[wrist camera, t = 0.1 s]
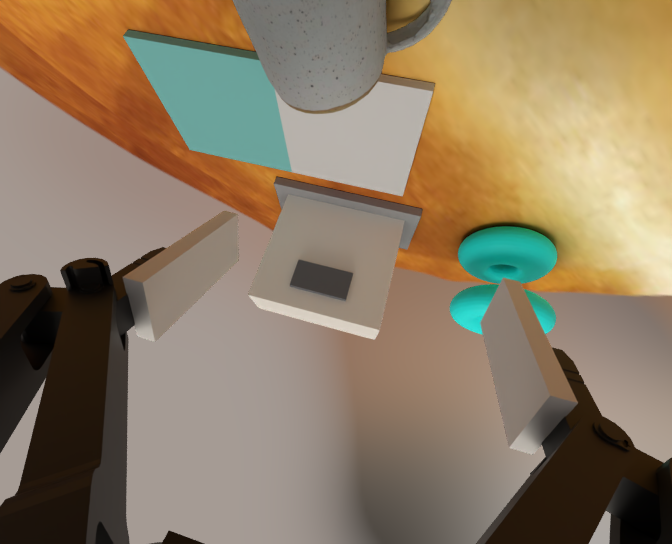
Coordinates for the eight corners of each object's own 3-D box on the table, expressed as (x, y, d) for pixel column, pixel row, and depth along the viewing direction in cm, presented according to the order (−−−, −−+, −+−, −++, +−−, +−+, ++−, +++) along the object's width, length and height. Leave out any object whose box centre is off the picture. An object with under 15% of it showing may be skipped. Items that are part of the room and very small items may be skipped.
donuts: (438, 326, 39) (463, 301, 30) (450, 255, 43) (475, 212, 34) (525, 348, 38) (579, 328, 29) (530, 272, 41) (578, 232, 32)
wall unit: (276, 176, 38) (229, 286, 32) (422, 209, 36) (397, 331, 30) (287, 214, 45) (250, 308, 40) (408, 242, 43) (386, 345, 38)
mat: (128, 29, 25) (122, 36, 25) (435, 83, 23) (433, 91, 22) (192, 144, 36) (189, 149, 36) (404, 190, 34) (402, 196, 33)
